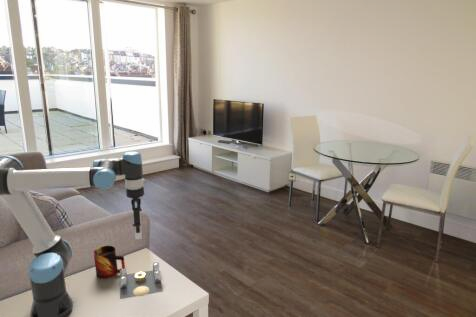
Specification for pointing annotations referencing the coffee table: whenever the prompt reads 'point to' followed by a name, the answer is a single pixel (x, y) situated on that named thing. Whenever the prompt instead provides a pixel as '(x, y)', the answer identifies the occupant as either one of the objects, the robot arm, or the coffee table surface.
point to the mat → (140, 286)
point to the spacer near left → (123, 282)
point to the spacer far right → (155, 266)
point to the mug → (107, 262)
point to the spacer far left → (123, 272)
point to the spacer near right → (157, 276)
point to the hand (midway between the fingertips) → (138, 231)
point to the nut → (140, 277)
